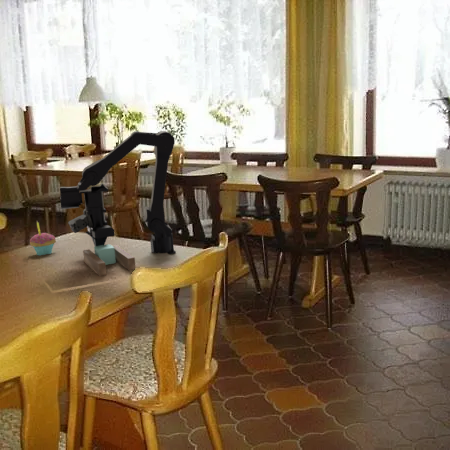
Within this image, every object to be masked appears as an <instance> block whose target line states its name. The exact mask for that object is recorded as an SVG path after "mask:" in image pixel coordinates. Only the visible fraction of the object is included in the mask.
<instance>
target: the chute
mask: <svg viewBox="0 0 450 450" xmlns="http://www.w3.org/2000/svg"><path fill="white" fill-rule="evenodd" d="M112 246H113V247H114V250H115V260H116V263H118V264H120V265H121V266H122V267H124V268H125V269H126V270H128V271H135V270H134V269H135V268H136V267H137V266H136V258H135V256H133V255H132V254H130V253H129V252H127V251H126V250H125V249H123V248H122V246H121V247H120V245H117V244H114V245H112ZM82 253H83V262H84V263H85V264H86V265H87V266H88V267H89V268H90V269H91V270H92V271H94V272H95V273H96V274H97V275H98V276H99V277H104V276H107V269H106V268H107V267H106V265H105V262H104V261H103V260H101V259H100V258H99V257H98V256H97V255H95V252H93V251H92V250H91V249H83V250H82Z"/></svg>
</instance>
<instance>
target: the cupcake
mask: <svg viewBox="0 0 450 450" xmlns="http://www.w3.org/2000/svg"><path fill="white" fill-rule="evenodd" d="M36 227H37V231H38V233H37V234H34V235H33V236H32V237H31V238H30V240H29V244H30V246H31V247H33V249H34V251H35V254H36V255H37V256H44V255H51V254H52V252H53V247H54V245H55V243H57V241H56V239H57V238H56V237H55V235H53V234H51V233H49V232H41V228H40V223H39V222H38V220H36Z"/></svg>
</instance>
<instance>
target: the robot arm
mask: <svg viewBox="0 0 450 450" xmlns="http://www.w3.org/2000/svg"><path fill="white" fill-rule="evenodd" d="M175 142H176V141H175V137H174V136H173V134H172V133H170V132H168V131H166V130H160V131H158V132H156V133H155V132H146V131H143V132H142V131H138V130H134V131H133V132H132V133H130V135H129V136H128V137H127V138H125V139H124V140H123V141H122V142H120V143H119V144H118V145H117V146H116V147H115V148H113V149H112V150H111V151H110V152H109V153H107V154H106V155H105V156H103V157H102V158H100V159H98V160H96V161H94V162H92V163H91V164H88V165H87V166H85V167H84V168H83V169H82V172H81V176H82V177H81V179H80V181H79V182H78V183H77V185H76V186H75V185H74V186H60V187H59V193H60V195H59V196H60V197H59V199H60V200H59V202H60V209H61V210H67V209H76V208H80V206H82V205H83V204H84V207H85V208H84V209H83V211H82V213H83V214H81V215H79V216H77V217H75V218H73V219H70V220H69V221H68V222H67V223H68V226H69V227H70V230H71V231H72V232H73V234H77V233H79V232H80V231H82V230H84V229H85V228H87V231H85V234H86V235H88V236H89V237H90V238H91V240H92V242H93V245H94V247H95V246H101V245H106V241H107V239H108V238H109V237H114V236H115V235H116V233H115V229H114V228H112V226H110V225H108V221H107V220H106V215H105V213H107V209H106V208H105V205H104V195H103V194H104V193H103V192H109V187H107V185H105V184H104V183H103V182H102V183H101V184H100V182H101V181H102V180H103V179H104V178H105V177H106V175H107V174H108V172H109V171H110V170H111V169H112V168H113V167H114V166H116V164H118V163H119V162H120V161H121V160H122V159H124V158H125V157H127V155H129V154H130V153H131V152H133V150H135V149H136V148H137V147H138V146H139V145H142V146H143V145H144V146H150V147H154V157H155V161H154V163H155V164H154V173H153V180H152V188H151V189H152V190H151V198H150V203H149V205H148V206H144V214H143V217H142V219H143V221H144V223H145V224H146V227H147V228H148V230H149V231H151V232H152V233H153V234H151V239H150V250H151V253H153V254H168V255H171V254H176V253H177V251H176V250H174V249H175V247H174V237H173V229H172V228H171V226H170V225H169V224H168V223H167V222H166V216H165V208H164V201H165V199H164V198H165V194H166V193H165V192H166V191H165V190H166V184H167V183H166V181H167V175H168V166H169V165H168V164H169V162H170V161H169V160H170V158H171V155H172V153H173V149H174V147H175ZM99 184H100V185H99ZM88 188H90V189H88ZM83 198H84V202H83Z"/></svg>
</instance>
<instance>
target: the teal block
mask: <svg viewBox="0 0 450 450" xmlns="http://www.w3.org/2000/svg"><path fill="white" fill-rule="evenodd" d="M93 249H94V250H93V251H94V254H95V255H97V256H98V257H99V258H100V259H101V260H103V261H104V262H105V266H107V265H113V264H116V263H117V261H116V260H115V250H114V247H113V245H112V244H110V243H109V244H104V245H101V246H94V247H93Z"/></svg>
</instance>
